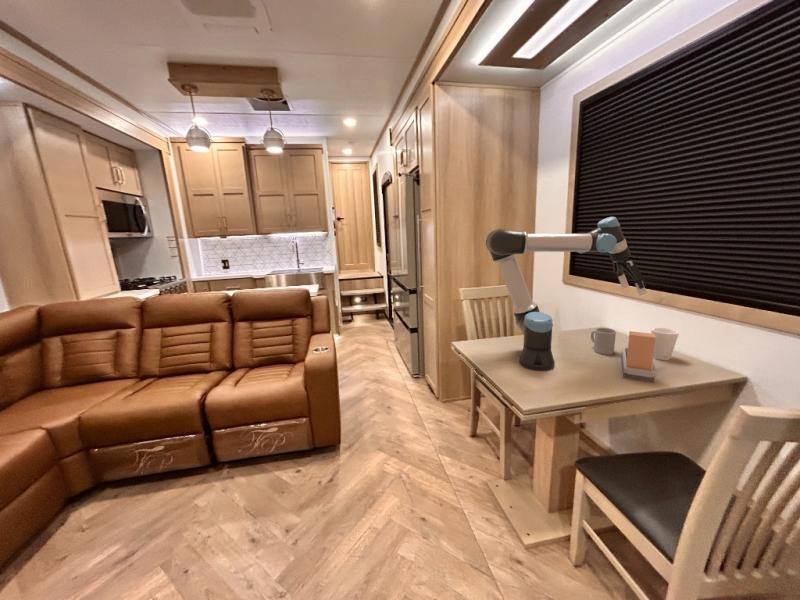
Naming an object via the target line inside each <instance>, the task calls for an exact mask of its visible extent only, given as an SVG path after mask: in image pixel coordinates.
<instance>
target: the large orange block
mask: <svg viewBox="0 0 800 600" xmlns="http://www.w3.org/2000/svg"><path fill="white" fill-rule="evenodd" d="M655 338H656V337H655V335H654V334H652V333H651V332H640V331H631V330H630V331H629V333H628V341H627V348H628V351H627V360H626V364H627V367H631V368H637V369H644V370H651V369H652V367H653V361H654V357H653V354H654V346H655Z"/></svg>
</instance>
